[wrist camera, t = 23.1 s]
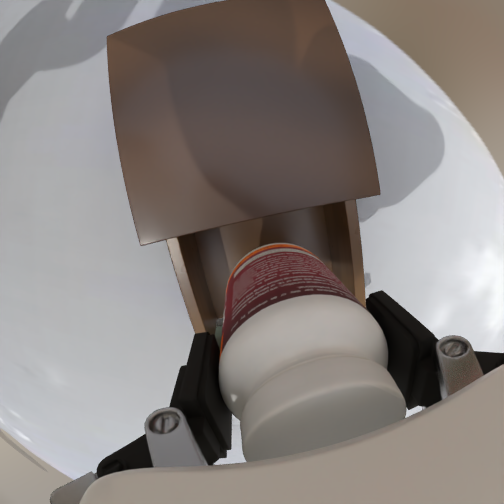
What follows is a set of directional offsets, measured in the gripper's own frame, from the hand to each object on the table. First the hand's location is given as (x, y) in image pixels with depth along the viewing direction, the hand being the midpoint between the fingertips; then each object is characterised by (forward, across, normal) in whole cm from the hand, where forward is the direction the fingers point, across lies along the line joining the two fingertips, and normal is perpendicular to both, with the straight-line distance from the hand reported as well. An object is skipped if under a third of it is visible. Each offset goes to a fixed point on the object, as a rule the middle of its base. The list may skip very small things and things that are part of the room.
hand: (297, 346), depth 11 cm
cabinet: (+14, 0, -12) cm, 18 cm away
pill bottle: (+6, 0, 0) cm, 6 cm away
